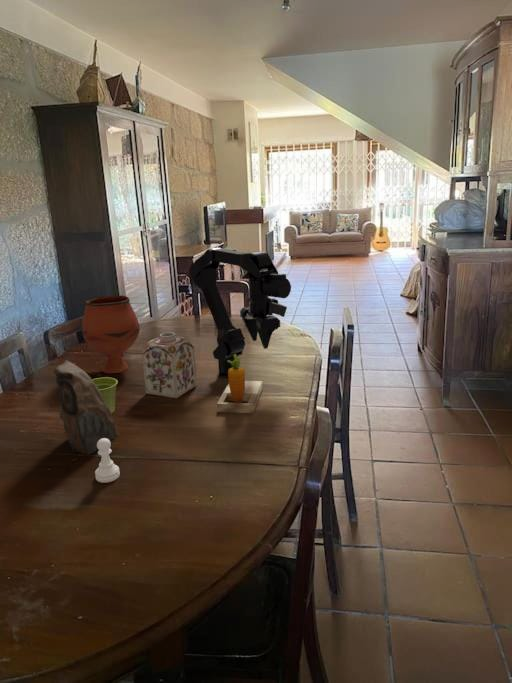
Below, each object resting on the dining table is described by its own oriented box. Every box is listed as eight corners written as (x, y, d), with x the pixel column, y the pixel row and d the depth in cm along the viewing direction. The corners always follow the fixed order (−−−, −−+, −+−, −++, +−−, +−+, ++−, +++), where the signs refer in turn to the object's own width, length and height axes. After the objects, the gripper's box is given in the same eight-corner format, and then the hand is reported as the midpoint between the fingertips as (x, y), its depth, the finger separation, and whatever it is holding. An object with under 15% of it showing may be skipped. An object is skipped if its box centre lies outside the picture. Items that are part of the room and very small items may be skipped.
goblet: (132, 357, 189) (125, 291, 182) (151, 370, 174) (145, 299, 167) (80, 367, 179) (71, 298, 172) (96, 383, 164) (86, 308, 157)
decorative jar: (198, 385, 159) (194, 330, 154) (177, 399, 149) (173, 341, 144) (166, 381, 164) (161, 327, 159) (144, 393, 154) (139, 337, 149)
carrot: (243, 410, 140) (240, 359, 136) (226, 408, 142) (223, 357, 137) (249, 403, 144) (247, 353, 140) (234, 401, 146) (230, 352, 142)
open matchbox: (217, 411, 139) (216, 403, 139) (230, 387, 156) (230, 380, 156) (253, 413, 138) (252, 404, 137) (262, 388, 155) (262, 381, 154)
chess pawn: (101, 470, 112) (96, 433, 109) (123, 470, 111) (118, 433, 108) (91, 482, 107) (86, 444, 104) (114, 483, 106) (110, 445, 104)
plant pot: (127, 407, 144) (124, 378, 142) (107, 421, 136) (104, 391, 133) (99, 403, 147) (96, 376, 145) (79, 417, 139) (74, 387, 136)
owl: (87, 458, 117) (76, 377, 111) (45, 449, 121) (32, 371, 116) (121, 434, 128) (112, 359, 122) (81, 427, 133) (70, 355, 127)
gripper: (296, 297, 145) (296, 349, 149) (271, 287, 162) (272, 334, 166) (260, 301, 141) (261, 354, 146) (238, 290, 158) (240, 338, 163)
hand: (260, 344), depth 155 cm, fingers open, 9 cm apart
